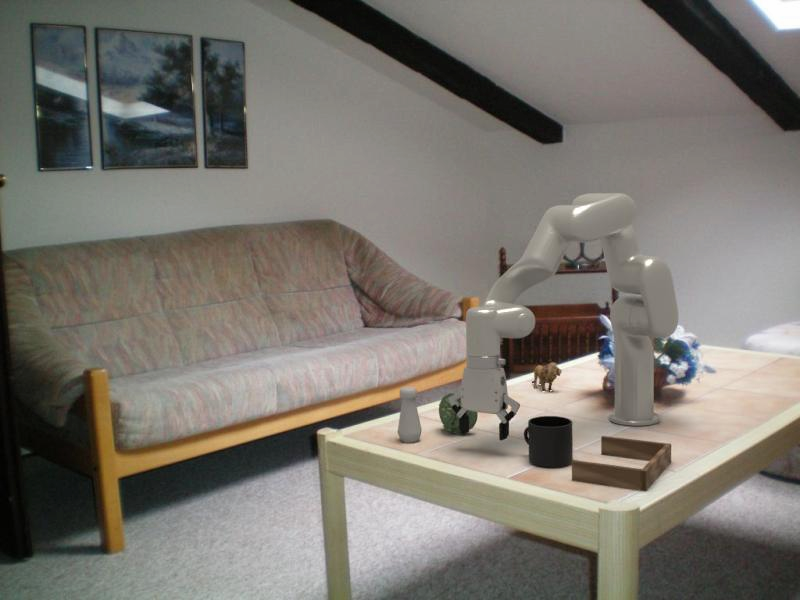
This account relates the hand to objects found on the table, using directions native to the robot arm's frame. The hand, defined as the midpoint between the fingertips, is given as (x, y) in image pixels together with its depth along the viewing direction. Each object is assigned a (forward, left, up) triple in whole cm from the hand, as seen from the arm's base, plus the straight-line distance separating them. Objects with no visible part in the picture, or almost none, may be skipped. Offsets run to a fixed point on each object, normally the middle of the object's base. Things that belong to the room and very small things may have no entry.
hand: (483, 436), depth 197 cm
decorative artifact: (-10, -13, -4) cm, 17 cm away
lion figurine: (-63, -10, -4) cm, 64 cm away
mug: (0, +15, -4) cm, 15 cm away
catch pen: (0, +31, -4) cm, 31 cm away
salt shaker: (-1, -20, -4) cm, 21 cm away
